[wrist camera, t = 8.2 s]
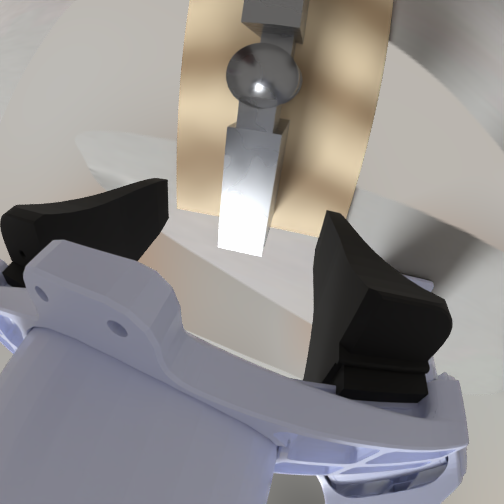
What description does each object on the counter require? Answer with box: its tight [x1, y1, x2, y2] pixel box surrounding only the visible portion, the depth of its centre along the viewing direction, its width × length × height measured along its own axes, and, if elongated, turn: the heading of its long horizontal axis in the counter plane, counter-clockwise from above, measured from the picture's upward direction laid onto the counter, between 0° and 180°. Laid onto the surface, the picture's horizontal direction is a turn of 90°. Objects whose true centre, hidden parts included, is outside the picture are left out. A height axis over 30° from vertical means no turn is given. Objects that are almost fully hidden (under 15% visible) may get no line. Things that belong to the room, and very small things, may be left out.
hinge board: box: [177, 0, 393, 237], centre depth 14 cm, size 20×12×1 cm, turn 173°
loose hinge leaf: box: [218, 43, 300, 256], centre depth 14 cm, size 10×3×5 cm, turn 173°
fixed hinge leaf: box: [241, 0, 310, 104], centre depth 9 cm, size 10×3×5 cm, turn 173°
